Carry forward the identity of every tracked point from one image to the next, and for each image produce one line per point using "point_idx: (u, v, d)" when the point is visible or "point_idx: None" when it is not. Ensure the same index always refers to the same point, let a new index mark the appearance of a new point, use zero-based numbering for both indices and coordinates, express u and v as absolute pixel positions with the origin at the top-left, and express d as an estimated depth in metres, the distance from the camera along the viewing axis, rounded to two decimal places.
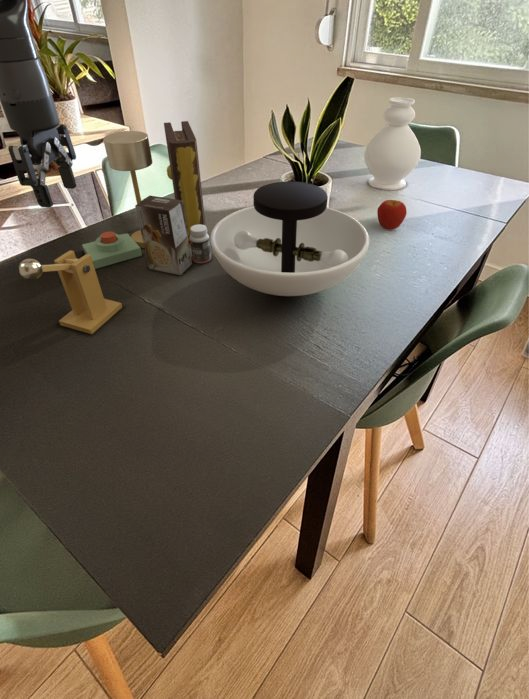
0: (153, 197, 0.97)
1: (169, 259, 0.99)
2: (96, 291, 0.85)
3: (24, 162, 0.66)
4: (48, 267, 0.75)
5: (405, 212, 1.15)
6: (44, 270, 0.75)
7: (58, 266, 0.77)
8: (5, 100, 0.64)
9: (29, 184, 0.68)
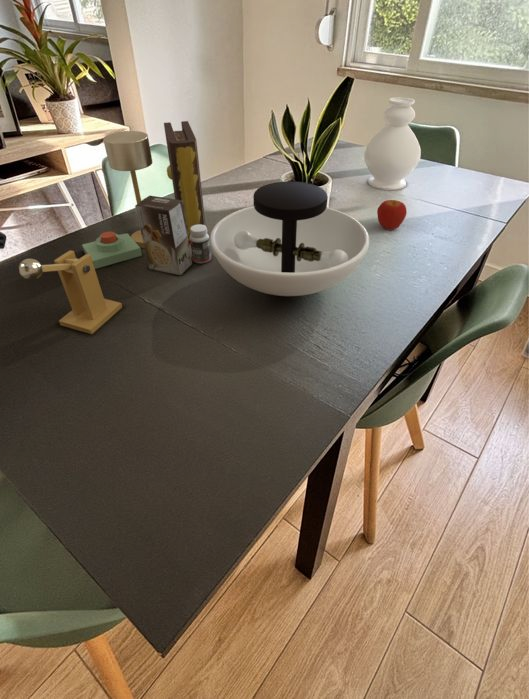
0: (153, 197, 0.97)
1: (169, 259, 0.99)
2: (96, 291, 0.85)
3: None
4: (48, 267, 0.75)
5: (405, 212, 1.15)
6: (44, 270, 0.75)
7: (58, 266, 0.77)
8: None
9: None
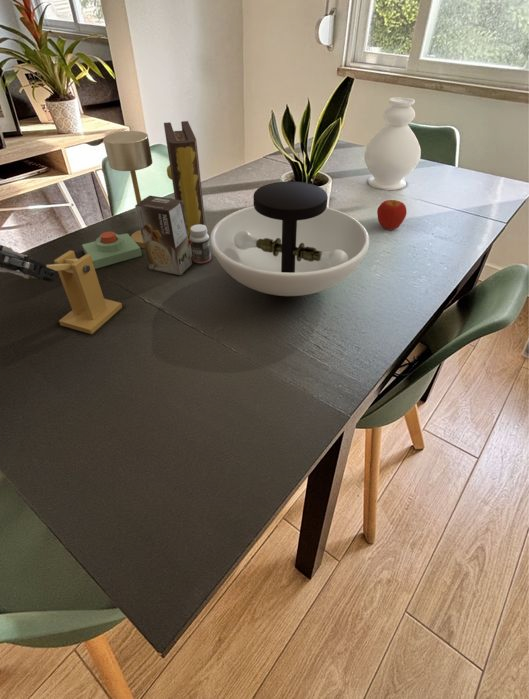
0: (153, 197, 0.97)
1: (169, 259, 0.99)
2: (96, 291, 0.85)
3: None
4: (48, 267, 0.75)
5: (405, 212, 1.15)
6: None
7: (58, 266, 0.77)
8: None
9: None
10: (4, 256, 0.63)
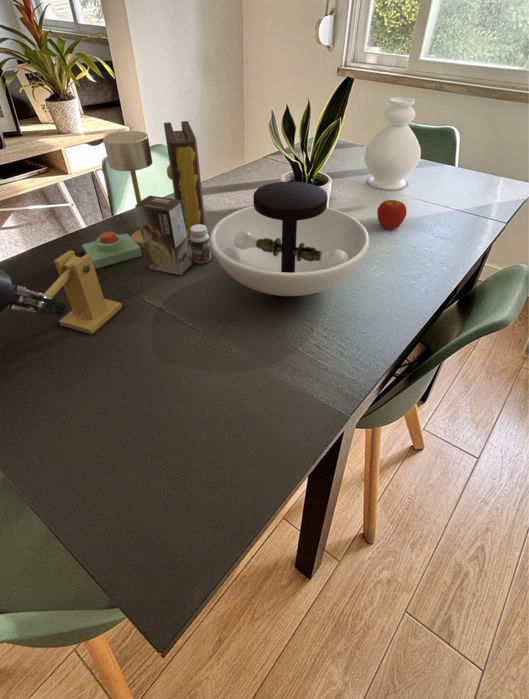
0: (153, 197, 0.97)
1: (169, 259, 0.99)
2: (96, 291, 0.85)
3: None
4: (54, 290, 0.78)
5: (405, 212, 1.15)
6: (52, 295, 0.78)
7: (61, 281, 0.79)
8: None
9: None
10: (19, 296, 0.68)
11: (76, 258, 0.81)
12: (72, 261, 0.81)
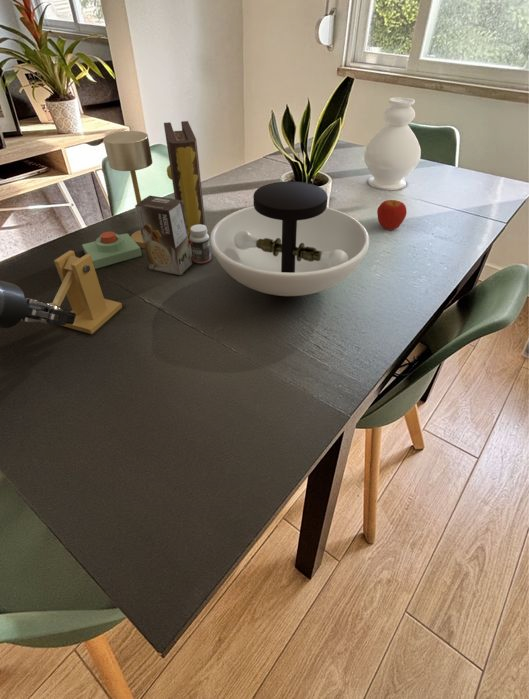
0: (153, 197, 0.97)
1: (169, 259, 0.99)
2: (96, 291, 0.85)
3: None
4: (61, 297, 0.80)
5: (405, 212, 1.15)
6: (60, 303, 0.80)
7: (66, 286, 0.80)
8: None
9: None
10: (32, 310, 0.70)
11: (74, 259, 0.81)
12: (71, 263, 0.81)
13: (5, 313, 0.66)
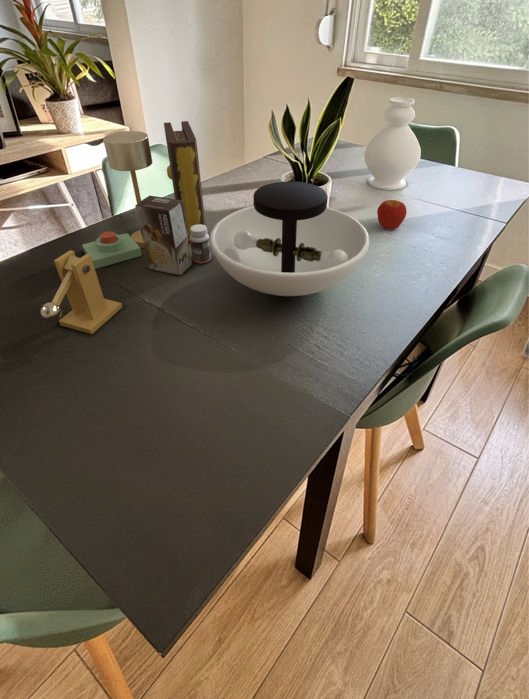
0: (153, 197, 0.97)
1: (169, 259, 0.99)
2: (96, 291, 0.85)
3: None
4: (60, 297, 0.80)
5: (405, 212, 1.15)
6: (60, 302, 0.80)
7: (65, 286, 0.80)
8: None
9: None
10: None
11: (74, 259, 0.81)
12: (71, 262, 0.81)
13: None
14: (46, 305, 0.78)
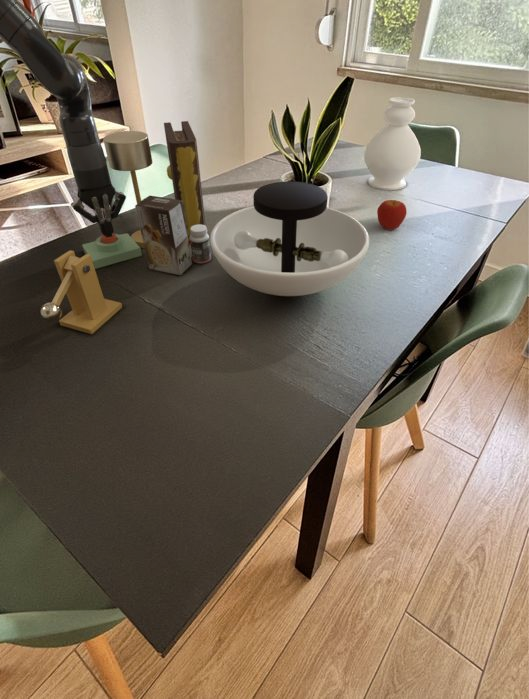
0: (153, 197, 0.97)
1: (169, 259, 0.99)
2: (96, 291, 0.85)
3: None
4: (60, 297, 0.80)
5: (405, 212, 1.15)
6: (60, 302, 0.80)
7: (65, 286, 0.80)
8: (71, 166, 0.94)
9: None
10: None
11: (74, 259, 0.81)
12: (71, 262, 0.81)
13: None
14: (46, 305, 0.78)
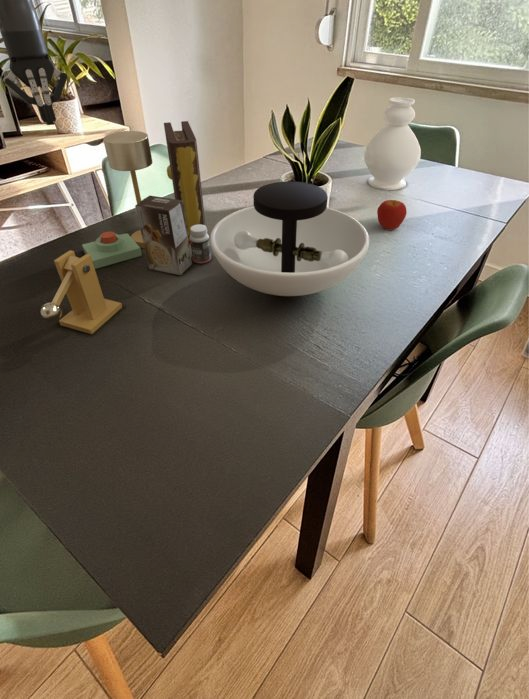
0: (153, 197, 0.97)
1: (169, 259, 0.99)
2: (96, 291, 0.85)
3: None
4: (60, 297, 0.80)
5: (405, 212, 1.15)
6: (60, 302, 0.80)
7: (65, 286, 0.80)
8: None
9: (27, 101, 0.91)
10: None
11: (74, 259, 0.81)
12: (71, 262, 0.81)
13: (42, 33, 0.85)
14: (46, 305, 0.78)
